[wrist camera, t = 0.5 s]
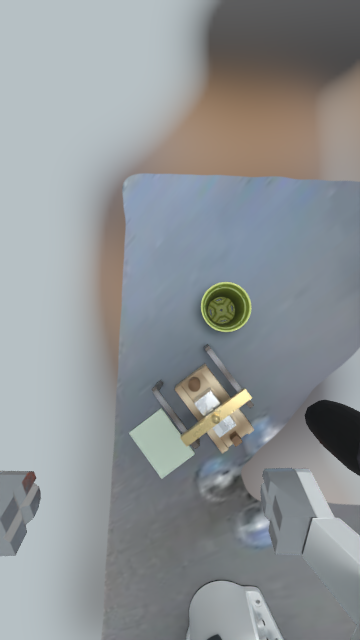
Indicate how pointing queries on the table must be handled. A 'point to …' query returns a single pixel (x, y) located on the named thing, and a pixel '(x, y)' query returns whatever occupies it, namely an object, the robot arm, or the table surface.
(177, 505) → the table surface
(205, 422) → the brass bolt
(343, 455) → the portable speaker
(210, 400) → the grey block with handle
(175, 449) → the sage mat
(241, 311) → the plant pot
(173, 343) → the table surface
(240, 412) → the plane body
